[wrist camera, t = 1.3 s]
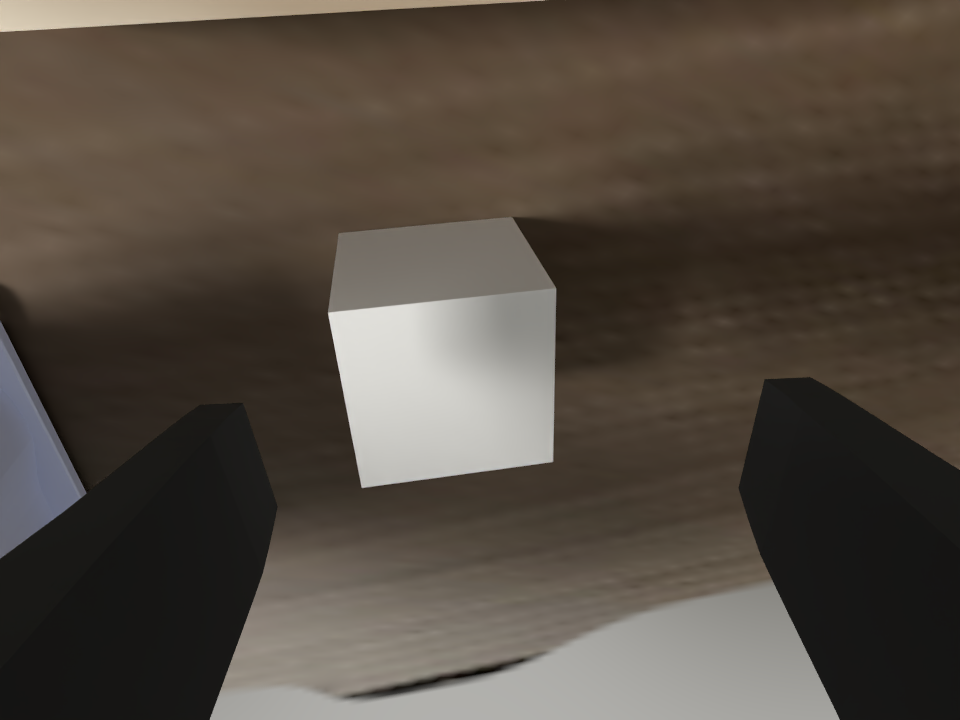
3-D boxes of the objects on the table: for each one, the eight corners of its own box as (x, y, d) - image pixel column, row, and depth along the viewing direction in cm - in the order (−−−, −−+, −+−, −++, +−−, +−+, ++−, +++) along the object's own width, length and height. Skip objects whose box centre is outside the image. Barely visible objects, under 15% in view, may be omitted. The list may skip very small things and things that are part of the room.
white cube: (514, 361, 20) (553, 462, 16) (364, 379, 19) (361, 487, 15) (511, 216, 18) (556, 288, 13) (338, 232, 17) (328, 312, 13)
